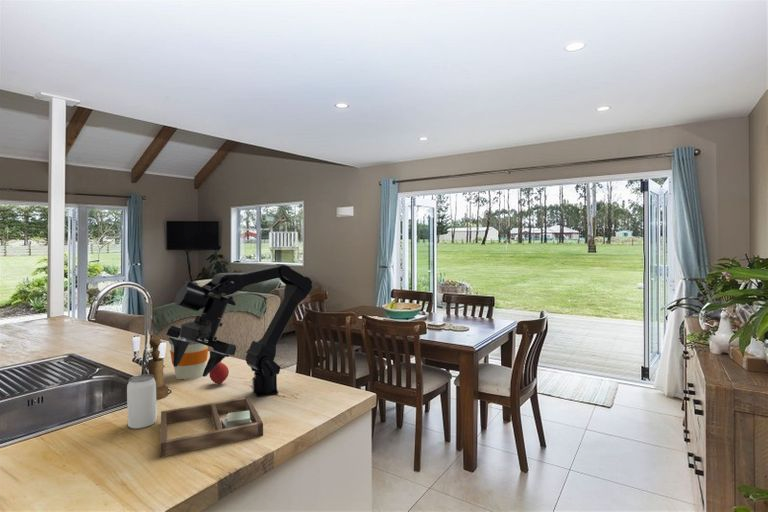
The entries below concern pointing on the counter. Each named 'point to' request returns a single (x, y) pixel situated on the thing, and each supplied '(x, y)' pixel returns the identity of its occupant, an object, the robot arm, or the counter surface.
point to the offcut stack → (236, 419)
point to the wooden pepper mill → (157, 368)
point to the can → (141, 401)
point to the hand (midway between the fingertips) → (189, 371)
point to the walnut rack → (219, 434)
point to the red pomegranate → (219, 373)
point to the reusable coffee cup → (191, 360)
